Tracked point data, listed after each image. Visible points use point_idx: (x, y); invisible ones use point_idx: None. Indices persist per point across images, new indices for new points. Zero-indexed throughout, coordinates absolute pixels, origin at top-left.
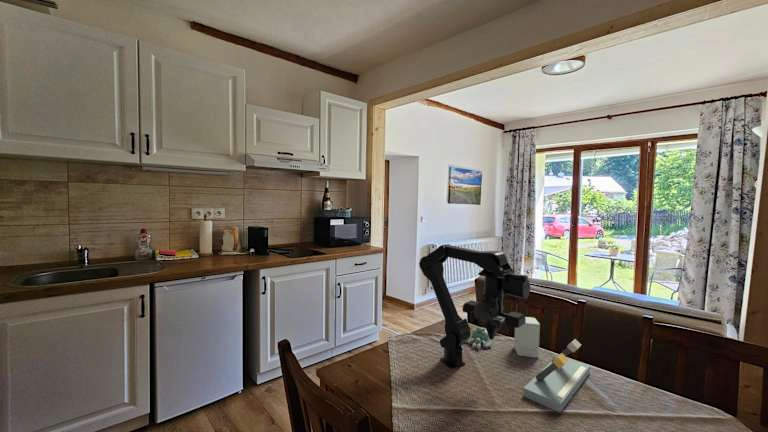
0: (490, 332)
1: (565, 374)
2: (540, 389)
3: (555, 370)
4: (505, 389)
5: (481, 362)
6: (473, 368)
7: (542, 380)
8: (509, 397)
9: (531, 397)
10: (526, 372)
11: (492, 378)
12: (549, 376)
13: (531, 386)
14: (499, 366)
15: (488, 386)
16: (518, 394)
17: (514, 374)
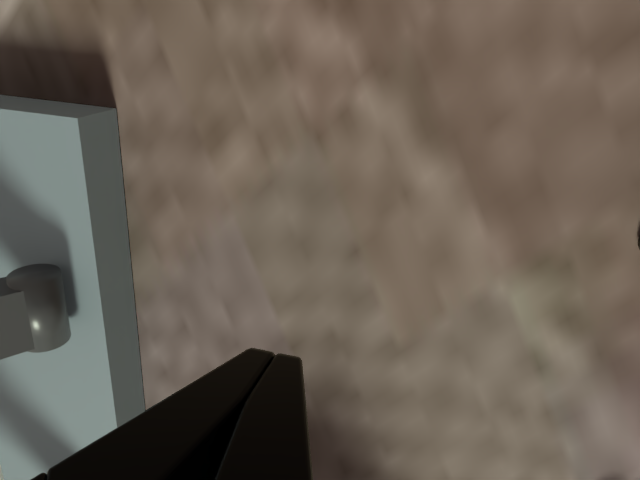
0: (223, 466)
1: (20, 432)
2: (6, 178)
3: (70, 447)
4: (229, 103)
5: (517, 358)
6: (546, 234)
7: (22, 270)
8: (165, 17)
9: (57, 105)
10: None
11: (360, 187)
12: (54, 366)
13: (56, 175)
14: (382, 374)
15: (339, 47)
16: (144, 105)
17: (266, 331)
